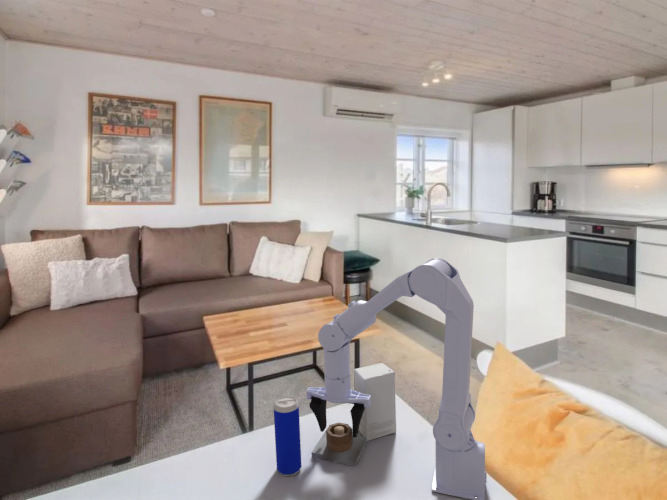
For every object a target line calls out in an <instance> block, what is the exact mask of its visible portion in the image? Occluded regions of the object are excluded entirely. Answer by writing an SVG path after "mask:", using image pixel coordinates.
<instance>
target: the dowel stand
mask: <svg viewBox="0 0 667 500" xmlns="http://www.w3.org/2000/svg"><path fill="white" fill-rule="evenodd" d="M334 434H336V435H342V434H344V427H342V426H337V427H335V428H334ZM352 440H353V444H352V446H351V448H350V450H347V451H344V452H341V453H340V452H335V451H331V450H330V449H329V448H328V446H327V439H326V430H324V432H323V434H322V436H321V437H320V439H319V441H318V442H317V443H316V445H315V446H314V448H313V449H312V451H311V458H313V459H318V460H322V461H327V462H333V463H338V464H343V465H347V466H352V467H356V466H357V463H358V462H359V460H360V457H361V456H362V452H364V451H363V450H364V448H365V447H366V444H367V442H368V441H367V440H366V437H364V436H363V435H357V437H356V438H355V437H353V434H352Z"/></svg>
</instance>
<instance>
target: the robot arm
mask: <svg viewBox="0 0 667 500" xmlns="http://www.w3.org/2000/svg"><path fill="white" fill-rule="evenodd" d="M414 296H418V297H419V298H420V299H423V300H425V301H426V302H428V303H431V304H432V305H434V306H436V307H437V309H439V310H440V311H441V312H442V313H443V314H445V322H444V323H445V324H444V325H445V326H444V343H443V344H444V346H443V347H444V348H443V365H442V366H443V369H442V388H441V389H442V391H441V392H442V393H441V398H440V403H439V409H438V418H437V419H436V421H435V423H434V424H433V427H432V434H433V435H432V436H433V437H434V440H435V465H434V472H433V478H432V483H431V484H432V485H431V491H432V492H433V493H434V492H435V493H440V494H444V495H448V496H453V497H457V498H463V499H466V500H467V499H468V500H485V498H486V496H485V494H486V491H485V490H486V489H485V488H486V484H487V477H488V476H487V472H486V447H485V446H486V443H484V442H481V441H478V440H476V439H475V437H474V436H473V432H472V430H471V429H472V426H473V424H474V422H475V419H476V412H475V409H474V406H473V405H472V394H471V393H470V384H471V383H470V382H471V380H470V379H471V365H472V364H471V362H472V347H473V346H472V344H473V343H472V341H473V329H474V327H473V325H474V299H473V298H472V296H471V294H470V293H469V291H468V289H467V288H466V286H465V284H464V283H463V281H462V278H461V276H460V273H459V270H458V268H456V267H455V266H453V264H451V263H450V262H448V261H447V260H446V259H443V258H440V257H433V258H431V259H429V260H427V261H426V262H424V263H423V264H420V265H418V266H416V267H415V268H413V269H411V270H408V271H407V272H405V273H403V274H401V275H400V276H398V277H396V278H395V279H393V280H392V281H391V282H390V283H388V284H387V285H386V286H385V287H383V288H382V289H381V290H380V291H379V292H378V293H376V294H375V295H373V297H371V298H370V299H369V300H363V299H362V300H361V299H359V300H357V301H355V300H353V301H351V302H349V303H348V305H347V309H345V310H344V311H343V312H341V313H340V314H339V313H337V314H335V315H334V316H333V318H332V319H333V320H331V321H330V322H329V323H325V324H323V325H322V327H321V328H320V329H319V330H318V333H317V335H318V336H317V339H318V342H319V344H320V346H321V347H322V349H323V367H324V368H323V370H324V371H323V373H324V374H323V375H324V387H323V386H322V387H312V386H309V387H308V388H307V390H305V391H306V399H307V400H310V402H309V404H308V405H309V408H310V410H311V411H312V413H313V414H314V416H315V419H316V422H317V424H318V426H319V430H320V432H323V433H324V432H325V431H326V429H327V402H329V403H333V404H351V405H353V406H352V407H351V409H350V411H349V412H350V415H351V417H350V418H351V422H352V427H351V428H352V435H353V437H355V438H356V437H357V436H359V425H360V421H361V418H362V415H363V412H364V410H365V408H369V406H370V405H371V395H366V394H362V393H359V392H356V391H355V390H353V389H352V384H351V381H352V380H351V358H350V357H351V354H350V349H351V348H350V343H351V341H352V340H353V339H354V338H356V337H358V335H360V334H361V333H363V332H364V331H366V330H367V329H369V328H370V327H371V326H373V325H374V324H376V321H377V313H379V312H381V311H383V310H384V309H385V308H387V307H388V306H390V305H391V304H392V303H393V304H394V302H396V301H397V300H399V299H400V298H402V297H408V298H413V297H414ZM475 497H477V498H475Z"/></svg>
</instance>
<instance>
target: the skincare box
mask: <svg viewBox="0 0 667 500" xmlns="http://www.w3.org/2000/svg"><path fill="white" fill-rule="evenodd" d="M353 377H354V391H356V392H359V393H362V394H366V395H371V405H370V406H369V408H365V410H364V412H363V415H362V418H361V421H360V425H359V431H358V433H359V432H360V435H361V436H363V437H366V441H367V442H368V441H373V440H375V439H378V438H382V437H385V436H389V435H392V434H395V433H397V415H396V413H397V410H396V405H397V404H396V382H395V381H396V371H394V370H393V369H392V368H391V367H389V366H388V365H386V364H385V363H383V362H380V363H375V364H371V365H367V366H363V367H362V366H361V367H358V368H354V369H353Z"/></svg>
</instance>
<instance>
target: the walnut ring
mask: <svg viewBox="0 0 667 500" xmlns="http://www.w3.org/2000/svg"><path fill="white" fill-rule="evenodd" d="M337 426H342V427H344V434H342V435H336V434H334V428H335V427H337ZM325 431H326V439H327V446H328V448H329V449H330V450H331V451H335V452H340V453H341V452H344V451H347V450H350V448H351V446H352V444H353V440H352V435H353V434H352V427H351V426H350V425H349V423H342V422H336V423H332V424H329V425H328V427H326V429H325Z"/></svg>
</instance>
